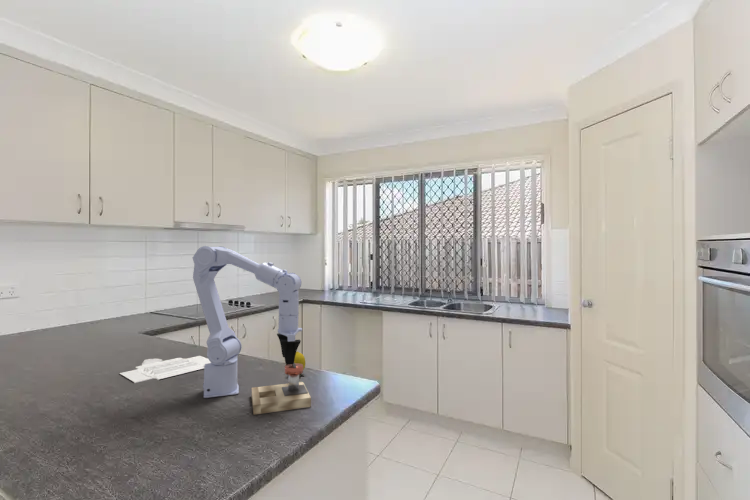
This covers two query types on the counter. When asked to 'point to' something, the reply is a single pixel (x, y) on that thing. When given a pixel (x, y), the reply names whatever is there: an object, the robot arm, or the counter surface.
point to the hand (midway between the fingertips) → (287, 360)
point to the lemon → (300, 359)
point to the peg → (293, 375)
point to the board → (279, 398)
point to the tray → (165, 368)
